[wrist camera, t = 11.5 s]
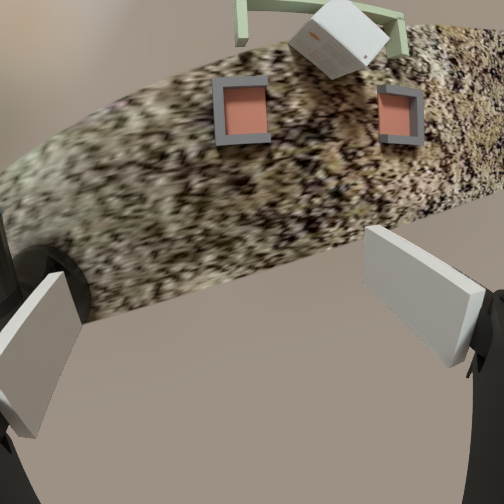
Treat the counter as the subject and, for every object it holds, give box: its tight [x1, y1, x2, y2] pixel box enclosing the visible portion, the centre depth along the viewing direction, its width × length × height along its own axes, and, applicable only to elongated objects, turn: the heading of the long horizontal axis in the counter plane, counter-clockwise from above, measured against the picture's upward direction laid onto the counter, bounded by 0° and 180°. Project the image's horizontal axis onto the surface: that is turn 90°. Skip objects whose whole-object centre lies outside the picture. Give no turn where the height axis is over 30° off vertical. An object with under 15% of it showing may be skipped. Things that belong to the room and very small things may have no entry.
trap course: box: [212, 0, 424, 146], centre depth 35 cm, size 30×20×4 cm
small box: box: [288, 0, 390, 80], centre depth 31 cm, size 8×6×10 cm
